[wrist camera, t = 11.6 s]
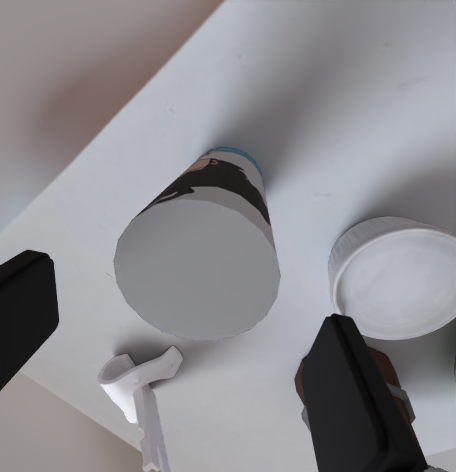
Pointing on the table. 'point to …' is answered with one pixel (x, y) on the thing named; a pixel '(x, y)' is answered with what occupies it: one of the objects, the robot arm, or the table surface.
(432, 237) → the ramekin
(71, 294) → the table surface
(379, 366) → the mug
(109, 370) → the plastic part
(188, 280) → the cup
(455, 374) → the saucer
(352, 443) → the robot arm
